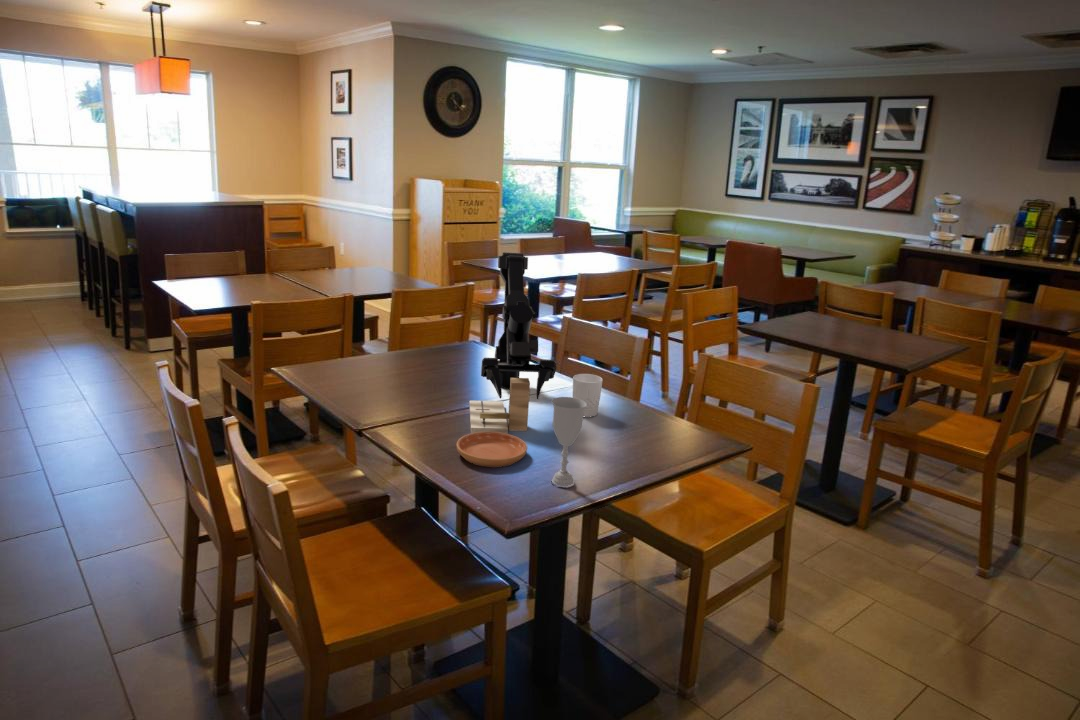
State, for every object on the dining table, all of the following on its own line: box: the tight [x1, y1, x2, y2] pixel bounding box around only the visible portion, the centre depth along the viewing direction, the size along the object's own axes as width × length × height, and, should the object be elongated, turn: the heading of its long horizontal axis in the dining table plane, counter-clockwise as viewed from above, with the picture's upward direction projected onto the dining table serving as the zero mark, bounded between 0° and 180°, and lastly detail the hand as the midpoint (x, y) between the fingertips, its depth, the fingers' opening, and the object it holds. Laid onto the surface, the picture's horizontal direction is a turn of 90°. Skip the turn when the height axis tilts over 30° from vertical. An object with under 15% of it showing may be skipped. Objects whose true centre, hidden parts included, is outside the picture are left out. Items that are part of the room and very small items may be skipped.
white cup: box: [572, 373, 603, 418], centre depth 193 cm, size 8×8×10 cm
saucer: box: [456, 432, 528, 468], centre depth 163 cm, size 16×16×3 cm
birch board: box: [468, 400, 509, 434], centre depth 185 cm, size 20×9×2 cm, turn 7°
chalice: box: [551, 396, 587, 486], centre depth 149 cm, size 7×7×18 cm
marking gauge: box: [480, 377, 531, 432], centre depth 178 cm, size 4×12×12 cm, turn 97°
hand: (519, 398), depth 178 cm, fingers open, 9 cm apart
